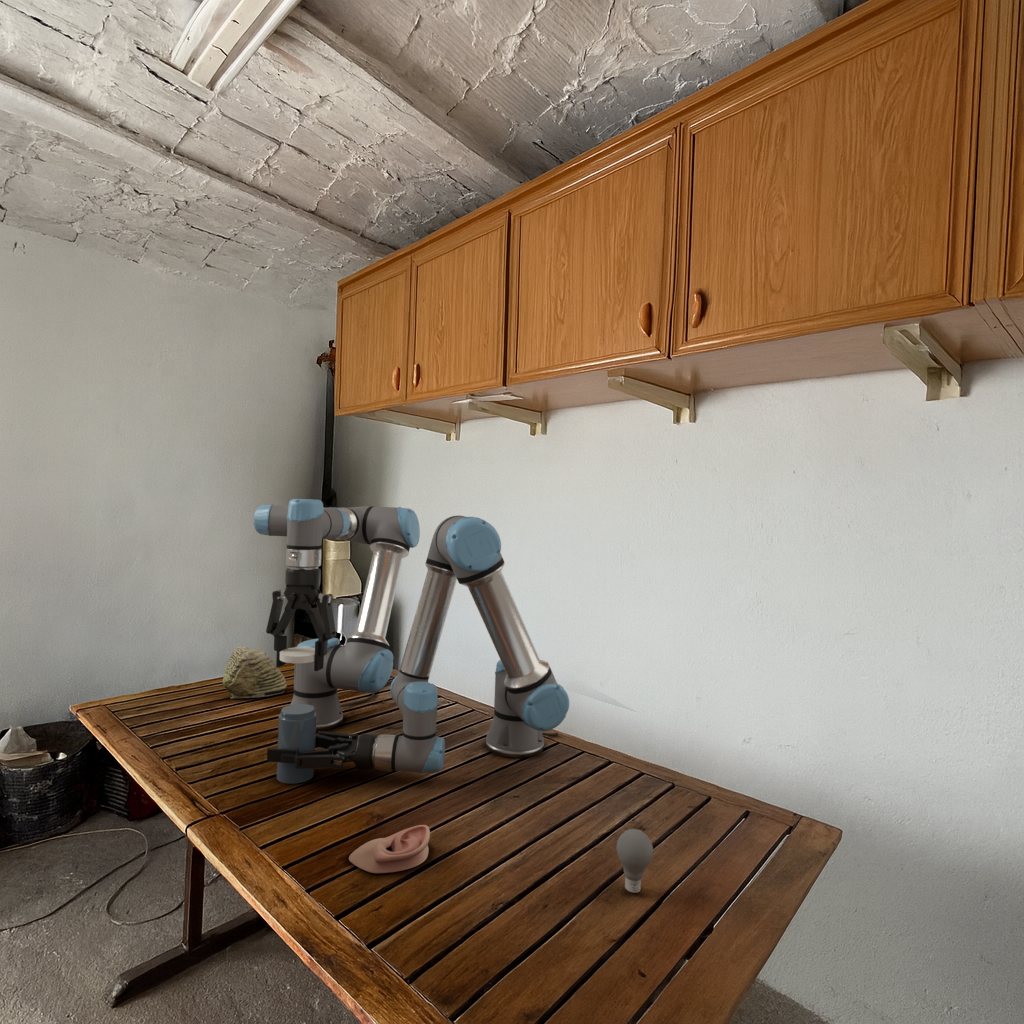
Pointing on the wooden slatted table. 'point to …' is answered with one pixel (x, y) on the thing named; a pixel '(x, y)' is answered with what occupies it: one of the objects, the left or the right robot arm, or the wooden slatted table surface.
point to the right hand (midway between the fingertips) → (275, 747)
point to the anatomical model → (393, 851)
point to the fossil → (252, 674)
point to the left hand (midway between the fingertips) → (299, 667)
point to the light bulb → (634, 857)
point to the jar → (296, 740)
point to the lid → (298, 655)
